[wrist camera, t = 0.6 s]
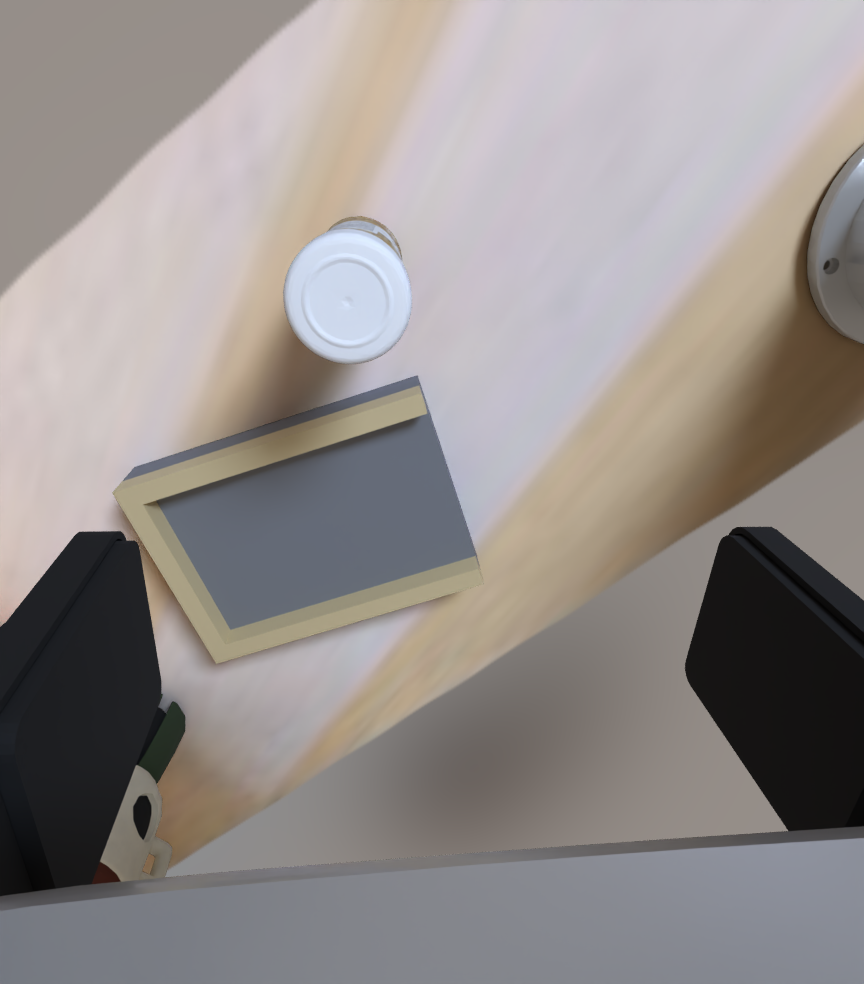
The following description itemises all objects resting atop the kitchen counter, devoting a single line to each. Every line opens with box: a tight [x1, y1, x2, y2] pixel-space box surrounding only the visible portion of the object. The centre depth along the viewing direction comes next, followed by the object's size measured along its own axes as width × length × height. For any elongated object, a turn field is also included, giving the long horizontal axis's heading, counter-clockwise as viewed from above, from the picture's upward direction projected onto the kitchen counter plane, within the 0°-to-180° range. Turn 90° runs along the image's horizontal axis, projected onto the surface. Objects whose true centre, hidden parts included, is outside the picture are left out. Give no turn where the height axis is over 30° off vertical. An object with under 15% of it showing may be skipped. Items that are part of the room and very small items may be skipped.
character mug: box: [92, 694, 185, 884], centre depth 41 cm, size 11×7×13 cm, turn 43°
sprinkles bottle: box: [283, 216, 412, 364], centre depth 28 cm, size 5×5×13 cm
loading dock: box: [113, 376, 484, 664], centre depth 39 cm, size 18×13×4 cm
